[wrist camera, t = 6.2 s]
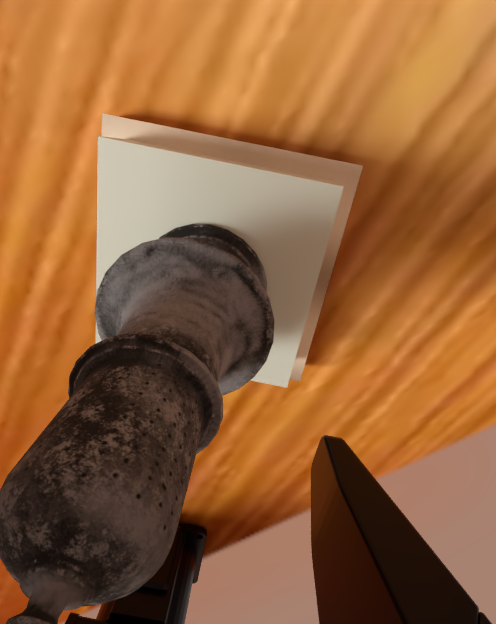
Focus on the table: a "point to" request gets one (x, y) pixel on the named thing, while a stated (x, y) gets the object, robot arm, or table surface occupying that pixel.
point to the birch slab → (265, 158)
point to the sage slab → (221, 222)
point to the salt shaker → (134, 420)
